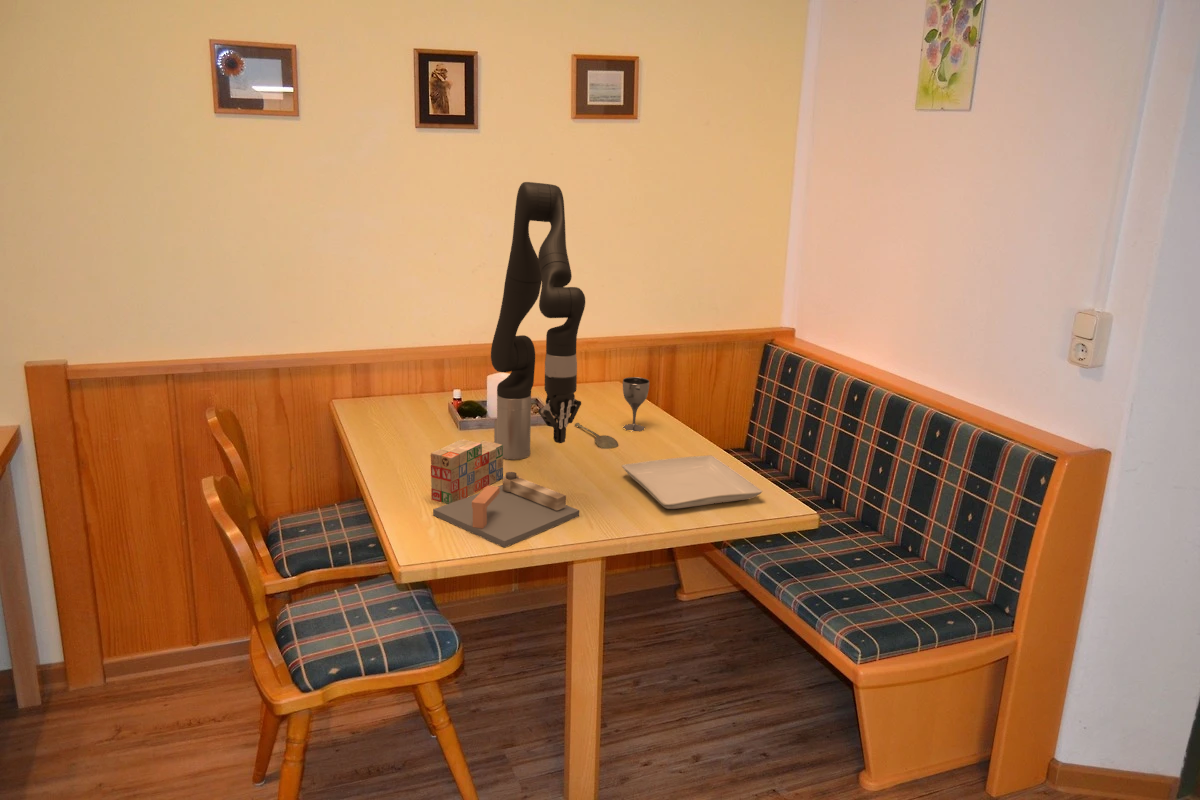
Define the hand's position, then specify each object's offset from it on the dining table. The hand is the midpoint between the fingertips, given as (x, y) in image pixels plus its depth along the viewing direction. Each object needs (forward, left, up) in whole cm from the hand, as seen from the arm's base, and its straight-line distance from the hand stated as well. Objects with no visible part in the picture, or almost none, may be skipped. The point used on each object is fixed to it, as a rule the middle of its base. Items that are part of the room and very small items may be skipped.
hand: (559, 442), depth 221 cm
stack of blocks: (-21, -10, -16) cm, 28 cm away
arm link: (-3, -6, -13) cm, 15 cm away
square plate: (+18, +30, -16) cm, 38 cm away
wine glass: (-23, +58, -15) cm, 64 cm away
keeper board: (-2, -15, -15) cm, 21 cm away
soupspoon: (-26, +43, -16) cm, 52 cm away
